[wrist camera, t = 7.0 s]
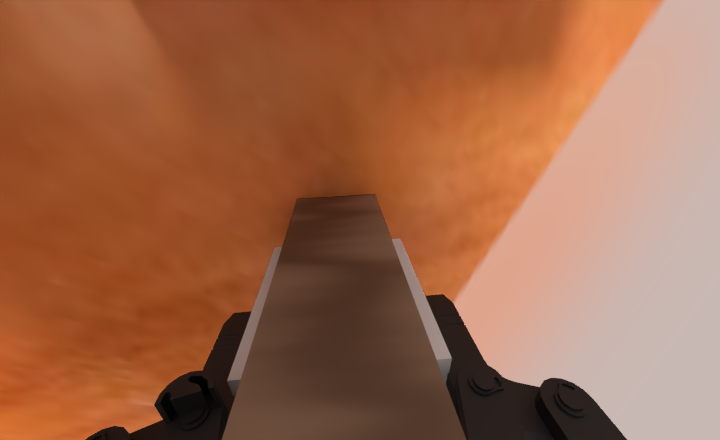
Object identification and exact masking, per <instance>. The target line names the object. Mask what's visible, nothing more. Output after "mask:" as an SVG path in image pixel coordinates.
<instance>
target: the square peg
mask: <svg viewBox="0 0 720 440" xmlns="http://www.w3.org/2000/svg"><path fill="white" fill-rule="evenodd" d="M222 440H466V437H465V434H464V432H463V429H462V426H461V424H460V421H459V418H458V416H457V413H456V410H455V408H454V405H453V402H452V400H451V397H450V394H449V391H448V389H447V386H446V383H445V381H444V378H443V375H442V373H441V370H440V367H439V365H438V362H437V359H436V357H435V354H434V351H433V349H432V346H431V343H430V341H429V338H428V335H427V333H426V330H425V327H424V325H423V322H422V319H421V317H420V314H419V311H418V308H417V306H416V303H415V300H414V298H413V295H412V292H411V290H410V287H409V284H408V282H407V279H406V276H405V274H404V271H403V268H402V266H401V263H400V260H399V258H398V255H397V252H396V250H395V247H394V244H393V242H392V239H391V236H390V234H389V231H388V228H387V226H386V223H385V220H384V217H383V215H382V212H381V209H380V207H379V204H378V201H377V199H376V196H375V194H371V195H354V196H338V197H321V198H305V199H297V201H296V205H295V208H294V211H293V214H292V217H291V221H290V224H289V227H288V230H287V233H286V236H285V240H284V243H283V246H282V249H281V252H280V256H279V259H278V262H277V265H276V268H275V271H274V275H273V278H272V281H271V284H270V287H269V291H268V294H267V297H266V300H265V303H264V306H263V310H262V313H261V316H260V319H259V322H258V326H257V329H256V332H255V335H254V338H253V342H252V345H251V348H250V351H249V354H248V357H247V361H246V364H245V367H244V370H243V373H242V377H241V380H240V383H239V386H238V389H237V392H236V396H235V399H234V402H233V405H232V408H231V412H230V415H229V418H228V421H227V424H226V428H225V431H224V434H223V437H222Z"/></svg>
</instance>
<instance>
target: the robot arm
mask: <svg viewBox="0 0 720 440" xmlns="http://www.w3.org/2000/svg"><path fill="white" fill-rule="evenodd" d="M392 242H393V244H394V247H395V250H396V252H397V255H398V258H399V260H400V263H401V266H402V268H403V271H404V274H405V276H406V279H407V282H408V284H409V287H410V290H411V292H412V295H413V298H414V300H415V303H416V306H417V308H418V311H419V314H420V317H421V319H422V322H423V325H424V327H425V330H426V333H427V335H428V338H429V341H430V343H431V346H432V349H433V351H434V354H435V357H436V359H437V362H438V365H439V367H440V370H441V373H442V375H443V378H444V381H445V383H446V386H447V389H448V391H449V394H450V397H451V400H452V402H453V405H454V408H455V410H456V413H457V416H458V418H459V421H460V424H461V426H462V429H463V432H464V434H465V437H466V440H627V439H626V438H625V437H624V436H623V435H622V433H621V432H620V431H619V430H618V428H617V427H616V426H615V425H614V424H613V422H612V421H611V420H610V419H609V418H608V416H607V415H606V414H605V413H604V412H603V410H602V409H601V408H600V407H599V406H598V404H597V403H596V402H595V401H594V400H593V399H592V398H591V397H590V396H589V395H588V394H587V393H586V392H585V391H584V390H583V389H581V388H580V387H578V386H577V385H575V384H573V383H572V382H568V381H566V380H563V379H558V378H550V379H547V380H545V381H544V382H543V383H542V385H541V387H535V386H530V385H526V384H521V383H517V382H513V381H510V380H507V379H505V378H503V377H502V376H501V375H500V374H499V373H498V372H497V371H496V370H494V369H493V368H491V367H489V366H488V365H487V364H486V362H485V361H484V359H483V357H482V355H481V354H480V352H479V350H478V348H477V346H476V344H475V343H474V341H473V339H472V337H471V335H470V334H469V332H468V330H467V328H466V326H465V325H464V322H463V321H462V319H461V317H460V316H459V313H458V311H457V309H456V308H455V306H454V304H453V303H452V302H451V301H450V300H449V299H448V298H447V297H445V296H444V295H443V294H442V295H430V296H425V295H424V292H423V290H422V288H421V285H420V283H419V281H418V278H417V276H416V274H415V271H414V269H413V267H412V264H411V262H410V260H409V257H408V255H407V253H406V250H405V248H404V246H403V243H402V241H401V239H400V238H395V239H392ZM281 249H282V247H275V248H274V251H273V254H272V256H271V259H270V262H269V265H268V268H267V270H266V273H265V276H264V279H263V282H262V284H261V287H260V290H259V293H258V296H257V298H256V301H255V304H254V307H253V310H252V312H241V313H234V314H233V315H232V316H231V317H230V318H229V319H228V320H227V321H226V322H225V323H224V325H223V327H222V329H221V331H220V334H219V336H218V339H217V340H216V342H215V345H214V347H213V350H212V351H211V353H210V355H209V358H208V360H207V362H206V364H205V366H204V369H203V371H194V372H189V373H187V374H185V375H182V376H180V377H178V378H177V379H175V380H174V381H173V382H171V383H170V384H169V385H168V386H167V387H166V388H165V389H164V390H163V391H162V392H161V393H160V395H159V397H158V399H157V400H156V402H155V404H154V405H155V407H156V409H157V410H158V412H159V413H160V415H161V417H162V418H163V420H161V421H159V422H157V423H155V424H152V425H150V426H147V427H145V428H142V429H140V430H137V431H135V432H133V433H130V434H129V433H128V432H127V431H126V430H125V428H124V427H117V426H113V427H109V428H106V429H102V430H101V431H99V432H97V433H95V434H93V435H91V436H90V437H88V438H87V439H86V440H222V437H223V434H224V431H225V428H226V424H227V421H228V418H229V415H230V412H231V408H232V405H233V402H234V399H235V396H236V392H237V389H238V386H239V383H240V380H241V377H242V373H243V370H244V367H245V364H246V361H247V357H248V354H249V351H250V348H251V345H252V342H253V338H254V335H255V332H256V329H257V326H258V322H259V319H260V316H261V313H262V310H263V306H264V303H265V300H266V297H267V294H268V291H269V287H270V284H271V281H272V278H273V275H274V271H275V268H276V265H277V262H278V259H279V256H280V252H281Z"/></svg>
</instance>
